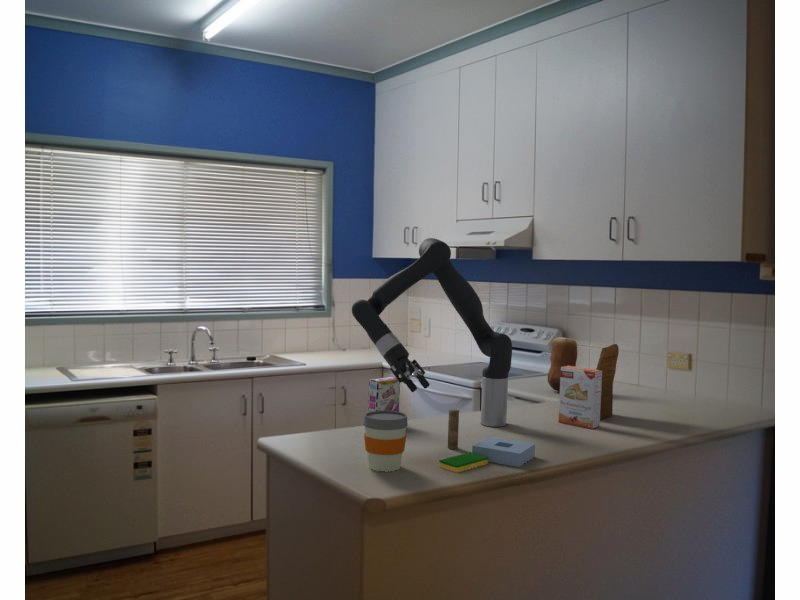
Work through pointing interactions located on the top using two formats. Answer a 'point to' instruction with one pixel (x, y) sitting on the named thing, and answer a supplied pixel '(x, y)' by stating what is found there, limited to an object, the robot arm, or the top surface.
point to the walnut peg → (453, 429)
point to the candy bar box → (384, 394)
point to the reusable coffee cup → (385, 439)
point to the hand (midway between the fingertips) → (421, 388)
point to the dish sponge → (463, 462)
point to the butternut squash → (561, 359)
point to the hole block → (505, 451)
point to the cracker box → (580, 396)
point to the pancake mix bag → (607, 378)
